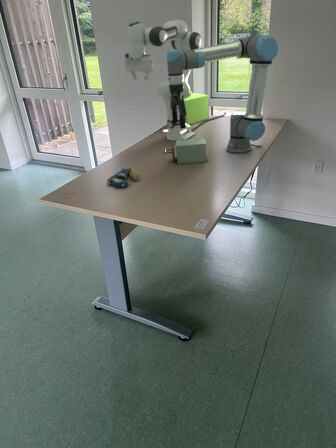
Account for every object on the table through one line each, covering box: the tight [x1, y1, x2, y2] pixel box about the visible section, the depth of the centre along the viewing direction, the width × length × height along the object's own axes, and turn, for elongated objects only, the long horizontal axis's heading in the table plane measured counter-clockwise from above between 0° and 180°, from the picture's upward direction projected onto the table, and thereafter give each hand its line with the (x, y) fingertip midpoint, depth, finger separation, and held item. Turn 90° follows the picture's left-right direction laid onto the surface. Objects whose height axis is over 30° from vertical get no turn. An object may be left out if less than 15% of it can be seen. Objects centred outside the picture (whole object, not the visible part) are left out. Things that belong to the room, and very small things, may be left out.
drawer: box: [163, 142, 177, 163], centre depth 205 cm, size 22×9×9 cm, turn 90°
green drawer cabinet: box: [175, 137, 207, 165], centre depth 205 cm, size 17×10×11 cm, turn 90°
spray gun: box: [106, 167, 141, 189], centre depth 186 cm, size 21×4×15 cm
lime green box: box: [184, 90, 210, 126], centre depth 283 cm, size 25×21×23 cm
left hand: (140, 79), depth 204 cm, fingers open, 8 cm apart
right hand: (179, 125), depth 182 cm, fingers open, 13 cm apart
